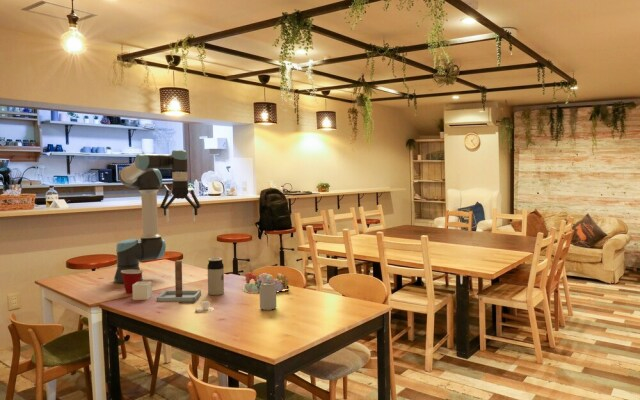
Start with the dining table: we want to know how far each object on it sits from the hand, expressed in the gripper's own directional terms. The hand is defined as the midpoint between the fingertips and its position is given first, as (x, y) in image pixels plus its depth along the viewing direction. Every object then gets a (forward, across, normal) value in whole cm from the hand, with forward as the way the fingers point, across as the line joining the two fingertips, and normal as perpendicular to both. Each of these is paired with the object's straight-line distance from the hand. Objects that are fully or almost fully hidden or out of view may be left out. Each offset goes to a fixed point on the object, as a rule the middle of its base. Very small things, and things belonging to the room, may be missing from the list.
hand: (180, 221), depth 255 cm
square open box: (+36, -16, -14) cm, 42 cm away
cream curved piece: (+37, +16, -33) cm, 52 cm away
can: (+37, +47, -33) cm, 68 cm away
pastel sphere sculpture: (+37, +43, +5) cm, 57 cm away
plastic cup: (+37, -25, -2) cm, 44 cm away
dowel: (+36, +2, -14) cm, 38 cm away
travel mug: (+37, +18, -4) cm, 41 cm away
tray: (+36, +2, -14) cm, 39 cm away
